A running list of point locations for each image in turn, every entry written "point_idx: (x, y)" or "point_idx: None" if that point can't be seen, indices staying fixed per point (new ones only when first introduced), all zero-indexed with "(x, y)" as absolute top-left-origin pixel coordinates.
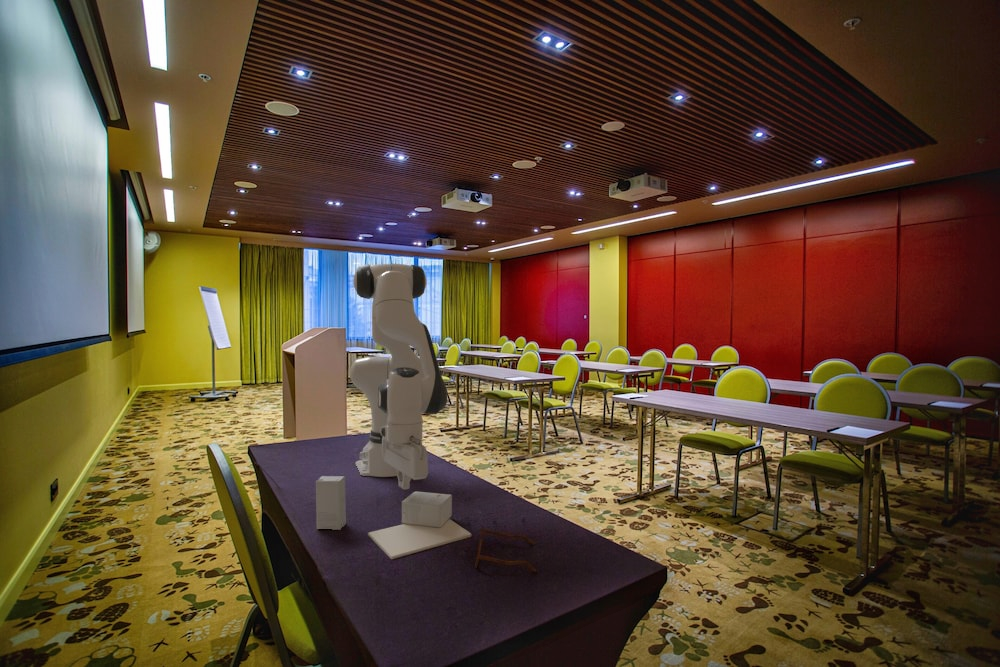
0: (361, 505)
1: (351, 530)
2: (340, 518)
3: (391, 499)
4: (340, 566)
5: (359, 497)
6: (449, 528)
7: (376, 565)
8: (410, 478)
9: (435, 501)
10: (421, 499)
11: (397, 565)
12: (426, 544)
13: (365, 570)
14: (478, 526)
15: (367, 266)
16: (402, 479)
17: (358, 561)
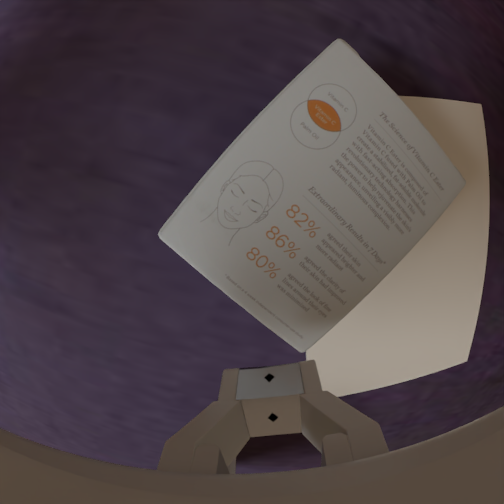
0: (65, 354)
1: None
2: (233, 463)
3: (30, 255)
4: (414, 436)
5: (14, 336)
6: None
7: (459, 384)
8: (355, 415)
9: (411, 181)
10: (336, 247)
11: (487, 347)
12: (477, 266)
13: (458, 400)
14: (418, 37)
15: None
16: (243, 423)
17: (422, 413)
